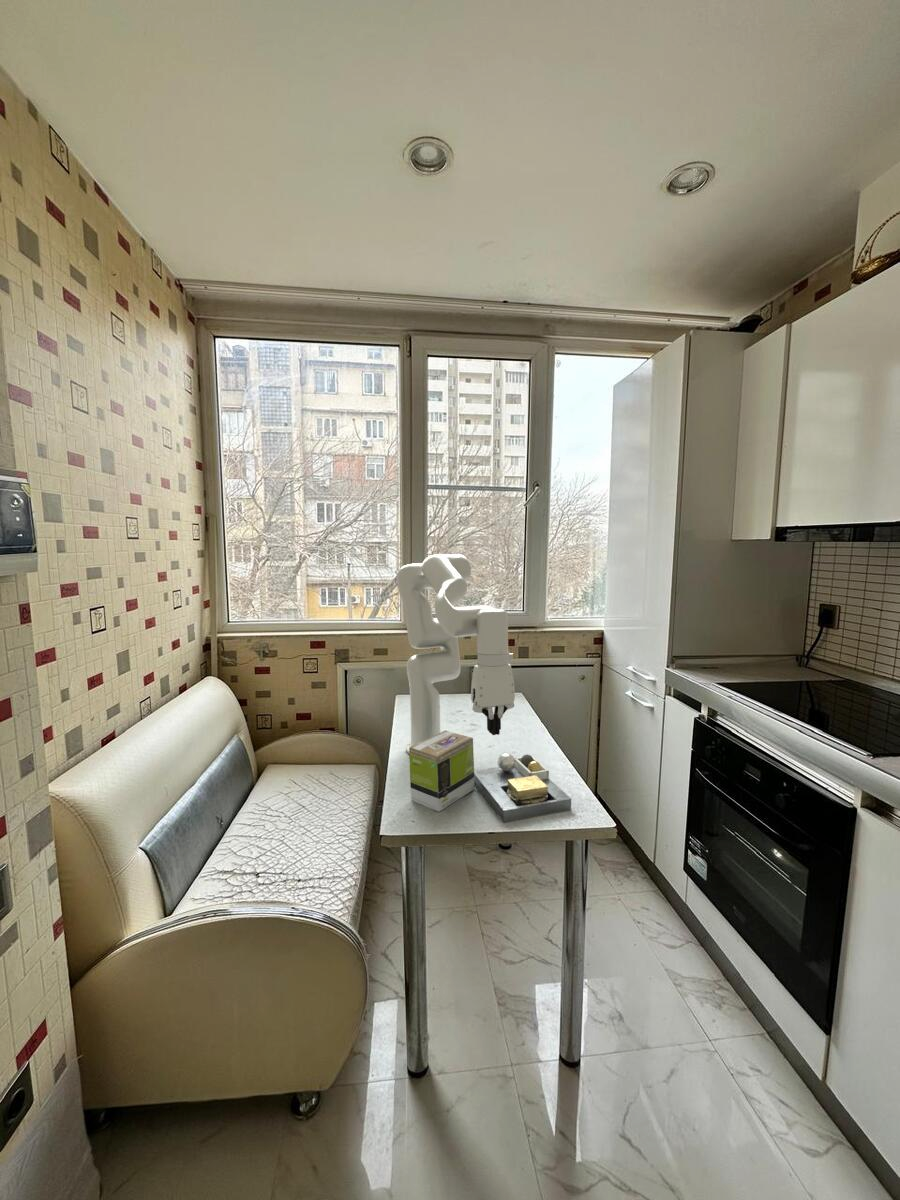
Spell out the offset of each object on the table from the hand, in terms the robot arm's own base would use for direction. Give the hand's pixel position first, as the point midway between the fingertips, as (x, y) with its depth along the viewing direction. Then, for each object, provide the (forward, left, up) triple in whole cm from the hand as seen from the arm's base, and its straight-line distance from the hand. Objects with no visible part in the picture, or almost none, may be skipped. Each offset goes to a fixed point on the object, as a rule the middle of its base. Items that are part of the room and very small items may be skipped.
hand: (494, 733), depth 122 cm
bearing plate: (-4, +9, -19) cm, 21 cm away
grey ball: (-12, +15, -14) cm, 24 cm away
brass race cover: (+1, +9, -16) cm, 18 cm away
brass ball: (-7, +15, -14) cm, 22 cm away
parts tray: (-9, +15, -16) cm, 24 cm away
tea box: (-10, -10, -20) cm, 24 cm away
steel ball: (-12, +9, -14) cm, 20 cm away
